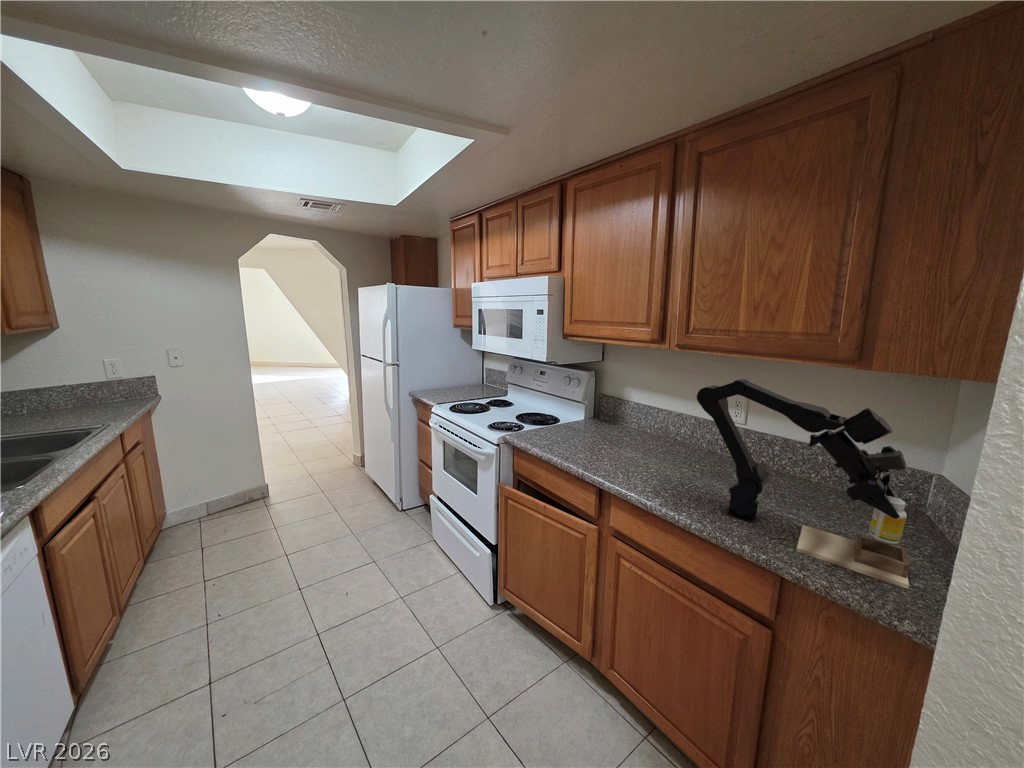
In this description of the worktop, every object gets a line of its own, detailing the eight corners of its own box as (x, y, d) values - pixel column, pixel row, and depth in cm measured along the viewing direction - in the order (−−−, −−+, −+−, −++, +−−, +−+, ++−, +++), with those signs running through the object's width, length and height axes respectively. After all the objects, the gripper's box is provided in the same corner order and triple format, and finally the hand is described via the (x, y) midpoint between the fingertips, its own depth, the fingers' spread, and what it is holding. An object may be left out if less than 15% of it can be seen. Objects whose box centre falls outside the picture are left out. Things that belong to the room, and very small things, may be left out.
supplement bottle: (862, 532, 92) (871, 495, 91) (878, 530, 94) (887, 493, 92) (889, 546, 87) (899, 506, 85) (906, 543, 89) (915, 504, 87)
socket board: (796, 551, 96) (798, 536, 95) (802, 528, 106) (804, 514, 105) (908, 589, 83) (912, 572, 82) (902, 558, 94) (905, 543, 93)
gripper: (877, 445, 83) (941, 514, 77) (886, 429, 95) (941, 487, 89) (824, 468, 90) (878, 533, 84) (838, 450, 102) (887, 505, 96)
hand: (898, 513), depth 88 cm, fingers closed on supplement bottle, 5 cm apart
